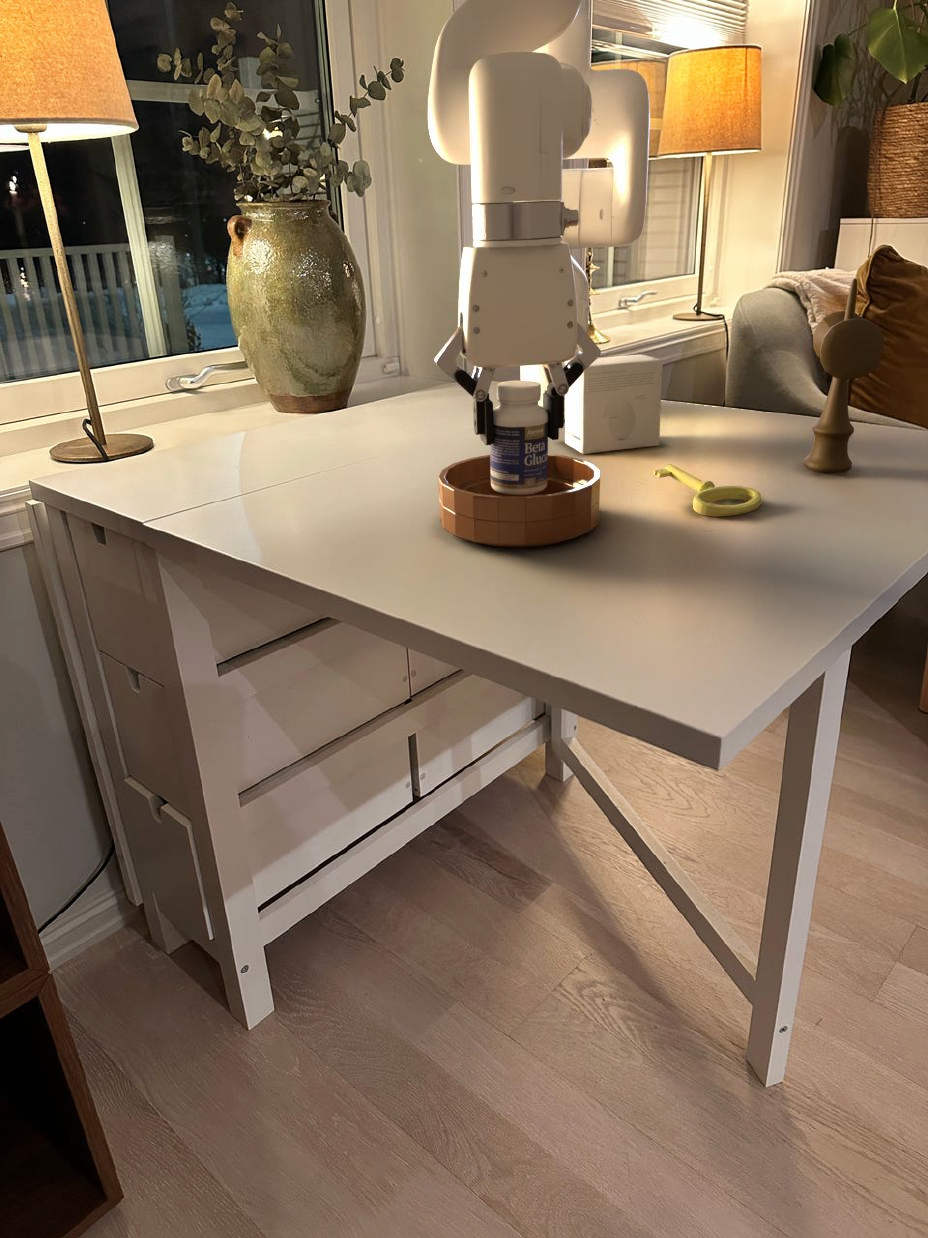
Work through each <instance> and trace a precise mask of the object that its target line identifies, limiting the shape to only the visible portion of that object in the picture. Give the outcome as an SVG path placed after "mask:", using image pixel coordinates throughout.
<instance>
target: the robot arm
mask: <svg viewBox="0 0 928 1238" xmlns="http://www.w3.org/2000/svg"><path fill="white" fill-rule="evenodd" d="M581 1H582V0H464V1H463V2H462V3H461V4H460V5H459V6H458V7H457V8H456V9H455V11H453V13H452V14H451V15H450V16H449V17H448V18H447V21H446V22H445V23H444V25H443V26H442V28H441V30H440V33H439V35H438V37H437V41H436V44H435V48H434V53H433V59H432V66H431V73H430V81H429V87H428V97H427V126H428V132H429V137H430V140H431V143H432V146H433V148H434V150H435V152H436V153H437V154H438V155H439V156H440V158H442V159H443V160H444V161H445V162H448V163H450V164H454V165H459V166H462V165H465V166H466V165H468V166H469V165H470V178H471V203H472V205H471V208H472V209H471V210H472V211H471V212H472V213H471V214H472V245H465V246H463V248H462V249H463V250H462V256H461V261H460V262H461V263H460V272H459V287H458V316H457V317H458V318H457V319H458V320H457V321H458V322H457V323H458V324H457V328H456V330H455V331H454V332H453V333H452V335H451V336H450V337H449V339H448V340H447V341H446V343H445V344H444V346H443V347H442V348H441V349H440V350H439V352H438V354H437V355H436V356H435V357H434V364H435V365H436V366H437V367H438V368H439V369H440V370H441V371H442V372H444V373H445V374H446V375H447V376H448V377H449V378H450V379H452V380H453V381H455V383H457V384H458V385H459V386H460V387H461V388H463V389H464V390H465V392H467V393H468V395H470V396H471V397H472V407H473V430H474V434H475V435H476V436H479V438H480V440H481V441H482V443H483V444H484V445H485V446H490V445H492V443H494V421H493V410H494V402H493V401H492V399H490V393H489V391H490V388H491V384H492V381H493V379H494V378H493V377H494V375H495V371H496V369H497V368H512V367H513V368H514V367H515V368H516V367H520V380H521V381H534V382H538V383H540V384H541V397H540V398H541V399H540V401H538V405H539V406H541V407H543V408H544V409H545V410H546V411H547V413H548V439H550V440H552V441H558V440H559V439H560V438H559V437H560V432H559V431H560V429H563V428H564V427H565V395H566V394H567V393H568V391H569V388H570V387H571V386H572V385H573V384H574V383H575V381H576V380H577V379H578V378H579V377H580V376H581V375H582V373H583V371H584V370H585V369H586V368H588V367H589V366H590V365H591V364H592V363H593V362H594V361H595V360H596V359H597V358H600V356H601V353H602V352H601V348H600V347H599V346H598V344H597V343H596V342H595V341H594V340H593V339H592V338H591V336H590V335H589V308H590V307H589V306H590V285H589V280H588V278H587V277H588V276H587V275H586V273H585V271H584V270H583V269H582V267H581V266H580V264H578V262H577V261H576V260H575V258H574V257H573V255H572V252H571V251H572V250H577V249H589V248H590V249H593V248H597V249H598V248H618V247H619V248H620V247H627V246H631V245H633V244H634V243H636V242H637V241H638V240H639V239H640V238H641V236H642V234H643V231H644V226H645V223H646V222H645V221H646V213H647V198H648V177H649V175H648V173H649V156H650V155H649V152H650V133H651V132H650V131H651V101H650V93H649V92H650V91H649V88H648V84H647V82H646V80H645V78H644V76H643V75H642V74H641V73H639V72H638V71H636V70H634V69H629V68H613V69H611V68H609V69H592V67H591V60H590V59H591V58H590V56H591V55H590V54H591V24H590V19H589V16H588V14H587V11H586V10H585V8H584V7H583V5H582V3H581ZM594 158H595V159H596V158H597V159H599V158H604V159H605V158H606V159H608V160H609V161H610V162H611V163H612V165H613V167H597V168H563V160H569V159H570V160H572V159H573V160H574V159H575V160H576V159H594ZM458 355H460V356H461V357H462V358H463V359H464V360H467V361H468V363H469V364H470V365H472V366H473V367H474V369H473V371H472V375H470V374H469V373H468V372H467V371H466V370H465V369H463V368H462V367H461V366H460V365H459V364H457V361H456V360H457V357H458ZM571 360H572V361H571ZM565 361H569V362H568V363H567V364H566V365H565Z"/></svg>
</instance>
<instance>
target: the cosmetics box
mask: <svg viewBox="0 0 928 1238" xmlns="http://www.w3.org/2000/svg"><path fill="white" fill-rule="evenodd" d="M571 361H572V360H571ZM568 362H569V361H565V365H566V364H567V363H568ZM663 363H664V362H663V359H661V358H657V357H654V356H649V355H646V354H640V353H639V354H629V355H620V356H619V355H617V356H607V357H598V358H597V359H596V360H595V361H594V362H593V363H592V364H591V365H590V366H589V367H588V368H586V369H585V370H584V371H583V373H582V375H581V376H580V377H579V378H578V379H577V380H576V381H575V383H574V384H573V385H572V386H571V387H570V388H569V391H568V393H567V394H566V395H565V420H564V443H565V445H567V446H569V447H570V448H573V449H575V450H576V451H577V452H579V453H580V454H582V455H587V454H596V453H602V452H603V453H604V452H611V451H613V452H614V451H620V450H630V449H636V448H637V449H638V448H647V447H655V446H659V445H660V441H661V440H660V438H661V436H660V434H661V433H660V432H661V407H662V405H661V404H662V379H663V365H664V364H663Z"/></svg>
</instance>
